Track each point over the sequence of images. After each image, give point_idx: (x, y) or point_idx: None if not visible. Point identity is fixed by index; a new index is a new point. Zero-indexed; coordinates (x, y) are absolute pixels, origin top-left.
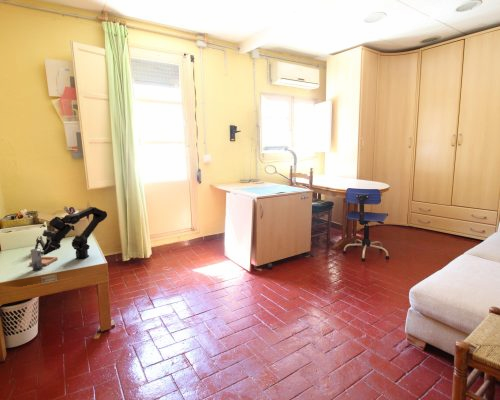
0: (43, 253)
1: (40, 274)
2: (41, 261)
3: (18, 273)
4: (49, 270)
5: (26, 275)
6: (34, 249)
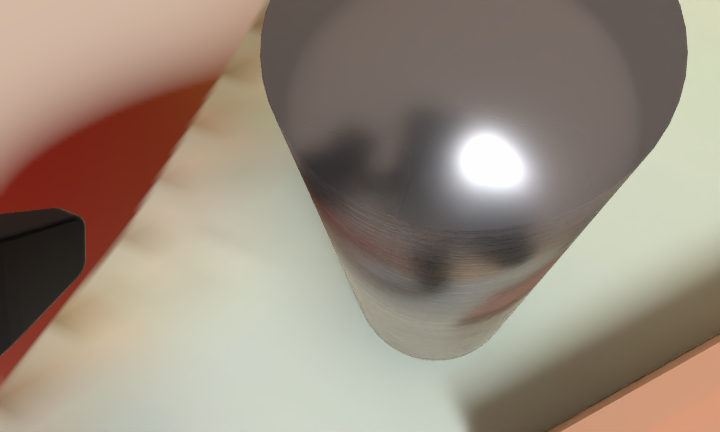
0: (60, 213)
1: (170, 205)
2: (369, 308)
3: None
4: (195, 374)
5: None
6: (553, 25)
